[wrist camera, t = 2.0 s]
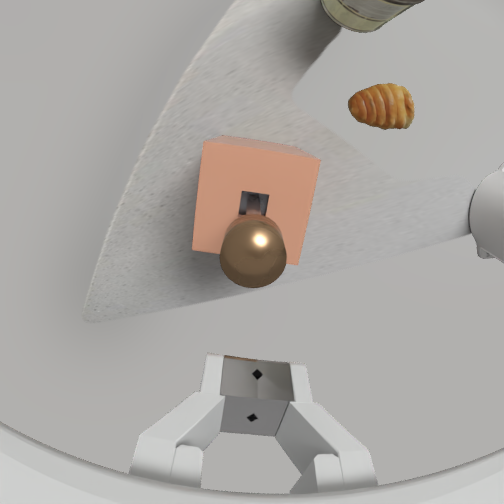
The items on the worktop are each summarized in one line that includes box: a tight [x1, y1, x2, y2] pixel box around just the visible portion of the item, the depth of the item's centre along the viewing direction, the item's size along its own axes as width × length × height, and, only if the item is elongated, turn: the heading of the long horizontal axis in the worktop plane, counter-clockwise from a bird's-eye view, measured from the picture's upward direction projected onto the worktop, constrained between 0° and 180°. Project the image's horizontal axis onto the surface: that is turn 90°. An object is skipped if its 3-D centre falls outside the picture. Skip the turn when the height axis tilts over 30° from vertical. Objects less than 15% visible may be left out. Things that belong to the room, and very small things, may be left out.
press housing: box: [192, 135, 321, 265], centre depth 34 cm, size 10×10×16 cm
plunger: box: [220, 191, 287, 288], centre depth 23 cm, size 8×8×13 cm
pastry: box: [348, 83, 414, 130], centre depth 35 cm, size 9×7×4 cm
